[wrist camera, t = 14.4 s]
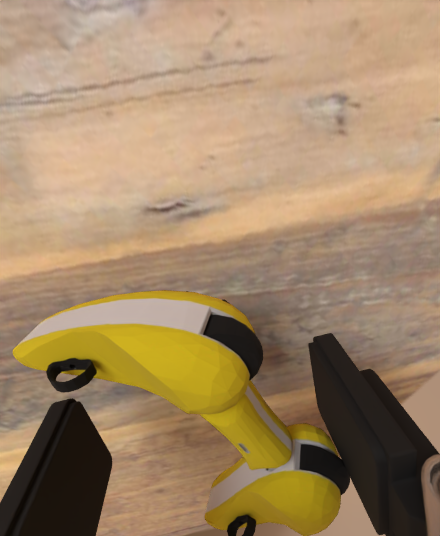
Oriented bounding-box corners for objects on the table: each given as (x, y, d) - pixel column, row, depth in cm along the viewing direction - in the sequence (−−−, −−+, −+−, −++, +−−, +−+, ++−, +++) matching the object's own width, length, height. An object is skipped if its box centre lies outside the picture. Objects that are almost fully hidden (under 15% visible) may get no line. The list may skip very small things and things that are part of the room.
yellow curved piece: (366, 442, 11) (384, 571, 8) (222, 450, 14) (200, 547, 11) (224, 212, 7) (171, 307, 5) (69, 290, 10) (-19, 375, 8)
